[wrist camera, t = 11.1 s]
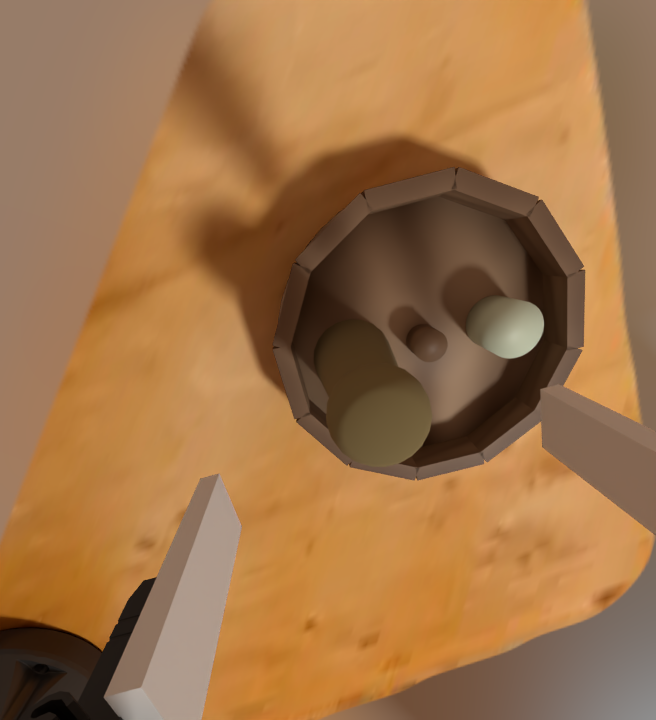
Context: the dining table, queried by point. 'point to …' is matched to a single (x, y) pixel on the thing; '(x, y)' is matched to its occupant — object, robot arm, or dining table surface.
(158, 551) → the dining table surface
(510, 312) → the pale beige rounded lump
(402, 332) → the tray
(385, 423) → the olive green knobbed peg
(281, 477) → the dining table surface
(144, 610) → the robot arm
